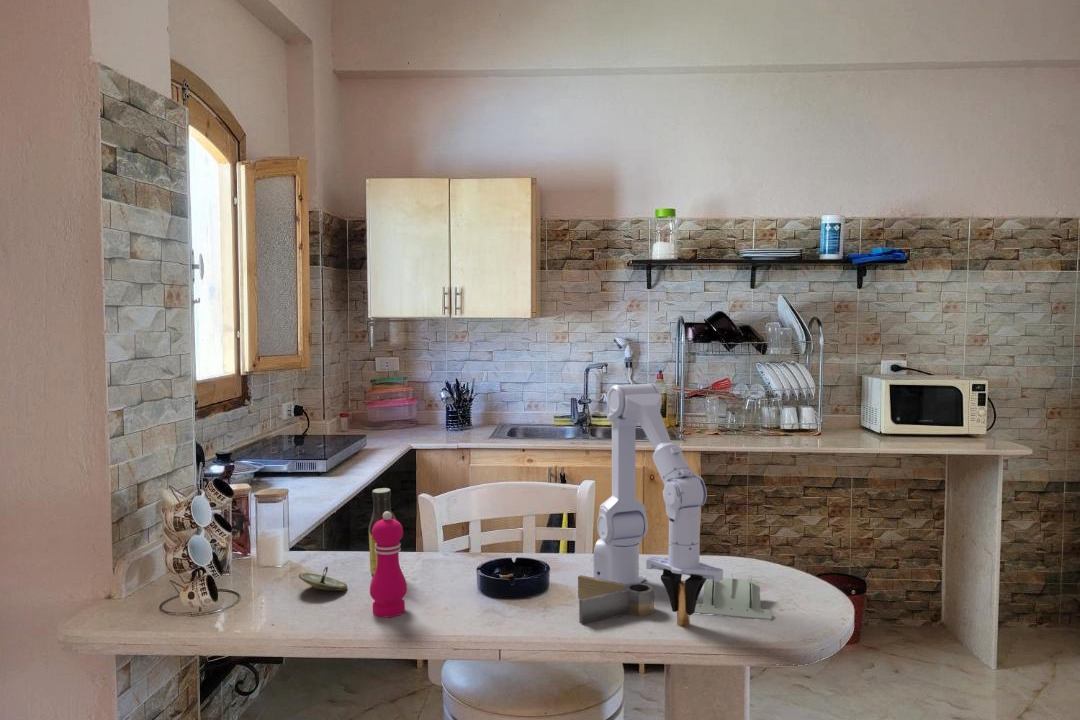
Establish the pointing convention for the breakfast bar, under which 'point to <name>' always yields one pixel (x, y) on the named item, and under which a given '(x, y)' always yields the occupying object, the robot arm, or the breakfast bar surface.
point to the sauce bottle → (380, 506)
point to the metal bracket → (733, 599)
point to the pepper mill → (388, 569)
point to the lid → (322, 581)
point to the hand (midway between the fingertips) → (683, 611)
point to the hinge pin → (682, 605)
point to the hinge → (612, 599)
